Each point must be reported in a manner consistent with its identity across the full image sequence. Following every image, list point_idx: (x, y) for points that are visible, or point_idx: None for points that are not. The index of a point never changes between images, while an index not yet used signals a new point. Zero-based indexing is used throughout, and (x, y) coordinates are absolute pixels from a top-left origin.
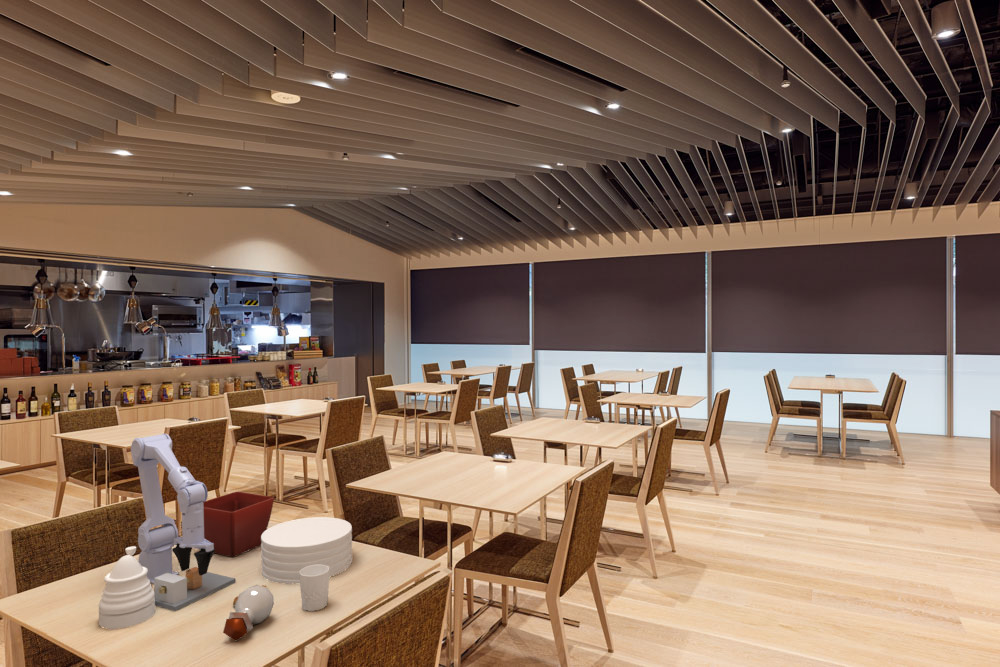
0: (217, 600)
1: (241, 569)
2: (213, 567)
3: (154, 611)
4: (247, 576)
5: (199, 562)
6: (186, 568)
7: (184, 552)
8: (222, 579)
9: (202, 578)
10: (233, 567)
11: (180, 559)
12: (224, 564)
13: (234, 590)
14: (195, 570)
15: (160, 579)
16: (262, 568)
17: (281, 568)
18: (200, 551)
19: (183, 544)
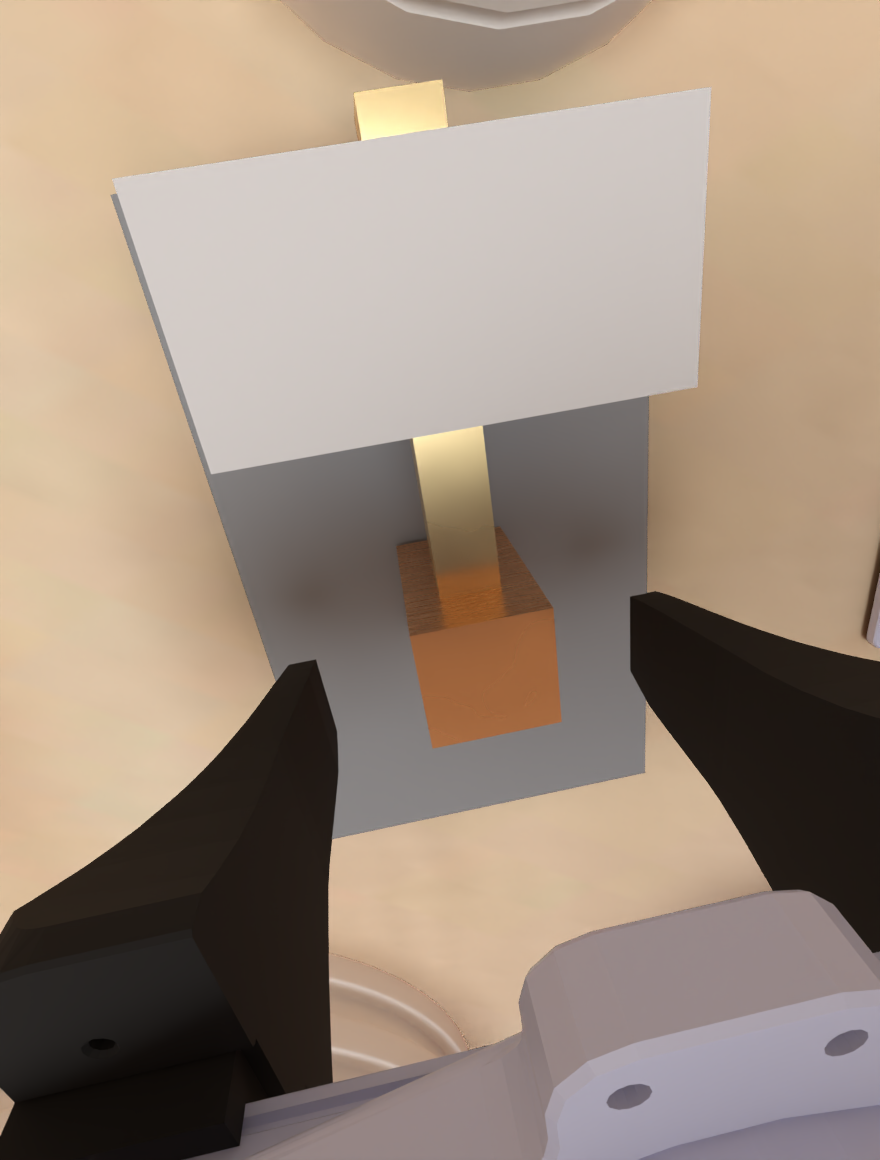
0: (80, 595)
1: (509, 906)
2: (718, 823)
3: (290, 3)
4: (361, 890)
5: (201, 790)
6: (638, 650)
7: (802, 805)
8: (401, 780)
9: (570, 701)
10: (588, 890)
11: (743, 667)
12: (688, 876)
13: (185, 755)
14: (446, 682)
15: (537, 128)
16: (347, 987)
17: (6, 1098)
18: (172, 1049)
19: (748, 1102)
